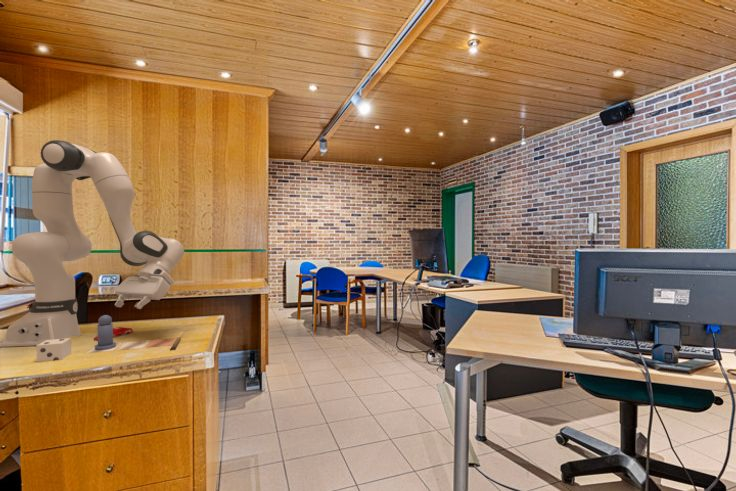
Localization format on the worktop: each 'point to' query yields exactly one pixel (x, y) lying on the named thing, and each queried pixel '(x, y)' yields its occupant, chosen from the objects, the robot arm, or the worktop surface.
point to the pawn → (105, 333)
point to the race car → (118, 332)
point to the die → (53, 349)
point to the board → (142, 345)
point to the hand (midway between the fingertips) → (127, 307)
